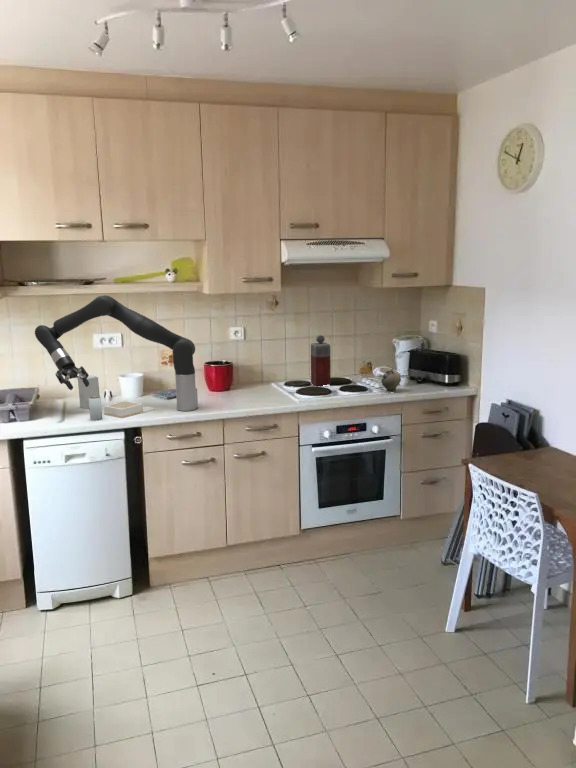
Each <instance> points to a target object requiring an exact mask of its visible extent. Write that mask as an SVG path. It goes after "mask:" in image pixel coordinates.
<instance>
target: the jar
mask: <svg viewBox="0 0 576 768" xmlns="http://www.w3.org/2000/svg"><path fill="white" fill-rule="evenodd" d="M88 409H89V416H90V419H89V420H91V421H92V422H93V421H96V420H97V421H102V420H103V406H102V397H101V395H90V397H89V408H88Z"/></svg>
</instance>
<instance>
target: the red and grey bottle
mask: <svg viewBox="0 0 576 768" xmlns="http://www.w3.org/2000/svg"><path fill="white" fill-rule="evenodd" d="M315 339H316V342H312V343H310V384H311V383H312V384H313V385H314V386H323V385H327V384H331V385H332V383H331V379H332V378H331V377H332V375H331V372H332V371H331V344H329V343H327V342H325V340H326V339H325V336H324V335H322V334H321V335H320V334H319V335H317V336H316V337H315ZM314 386H313V387H314Z"/></svg>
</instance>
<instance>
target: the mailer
mask: <svg viewBox="0 0 576 768" xmlns="http://www.w3.org/2000/svg"><path fill="white" fill-rule="evenodd" d="M153 409H154V410H157V408H156V407H151V406H145V405H144V404H143V403H140V402H139V403H138V402H135V401H134V402H133V401H128V400H122V401H119V402H115V403H111V404H106V405H103V413H104V415H105V416H111V417H116V418H121V419H123V418H128V417H130V416H135V415H138V414H143V413H146V411H147V412H150V411H149V410H151V411H154V410H153ZM142 412H143V413H142Z"/></svg>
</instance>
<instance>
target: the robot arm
mask: <svg viewBox="0 0 576 768" xmlns="http://www.w3.org/2000/svg"><path fill="white" fill-rule="evenodd" d="M105 316H108V317H111V318H113V319H115V320H117V321H119V322H120V323H122V324H123V325H124V326H126V328H127V329H129V330H130V331H131V332H133V333H134V334H135V335H137V336H139V337H141V338H143V339H145V340H147V341H149V342H153V343H156V344H158V345H159V344H160V345H163V346H164V347H167V348H169V349H170V350H172V361H173V368H174V376H175V377H174V378H175V394H176V395H175V397H176V409H177V411H181V412H189V411H194V410H196V409H198V408H199V402H198V401H199V399H198V388H197V387H196V368H195V366H194V354H195V351H196V345H195V344H194V342H193V341H192V340H191V339H189V338H187V337H184V336H182V335H179V334H177V333H176V332H173V331H170V330H169V329H168V328H166V327H164V326H163V325H161V324H159V323H158V322H156V321H154V320H153V319H151V318H149V317H146V316H145V315H143V314H141V313H139V312H138V311H135V310H133V309H130V308H129V307H126V306H125V305H123V304H122V303H121V302H119V301H118V300H116V299H115V298H113V297H112V296H110V295H100V296H97V297H95V298H94V299H93V300H92V301H91V302H89V303H88V304H86V305H84V306H83V307H81V308H79V309H78V310H75V311H73V312H71V313H68V314H67V315H65V316H62V317H60V318H58V319H57V320H56V319H55V320H54V322H53V326H52V327H49V326H47V325H44V324H43V325H42V324H40V325H38V326H36V328H35V329H34V336H35V338H36V339H37V342H39V343H40V344H41V345H42V347H43V348H45V350H46V351H47V353H48V354H49V356H50V358H51V360H52V362H53V363H54V365H55V366H56V368H57V369H58V370H57V371H56V372H55V376H56V378H57V380H58V381H59V383H60V384H61V385H62V384H65V386H66V387H67V389H68V390H70V391H72V390H73V389H74V386H73V384H72V383H71V381H70V379H77V380H78V379H81V380H82V381H83V383H84V384H85V386H86V387H88V386H89V382H88V380H87V377H88V376H90V375H89V373H88V372H87V370H86V369H85V368H84V367H83V366H82V365H81V366H80V367H77V366H76V364H75V362H74V360H73V359H72V357H71V356H70V354H69V353H68V351H67V350H66V349H65V348H64V345H62V343H61V341H59V339H60V338H61V337H62V336H63V335H64V334H67V333H69V332H70V331H72V330H74V329H76V328H78V327H79V326H81V325H83V324H84V323H86V322H87V321H90V320H92V319H95V318H98V317H99V318H100V317H105ZM82 377H83V378H82Z"/></svg>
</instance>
